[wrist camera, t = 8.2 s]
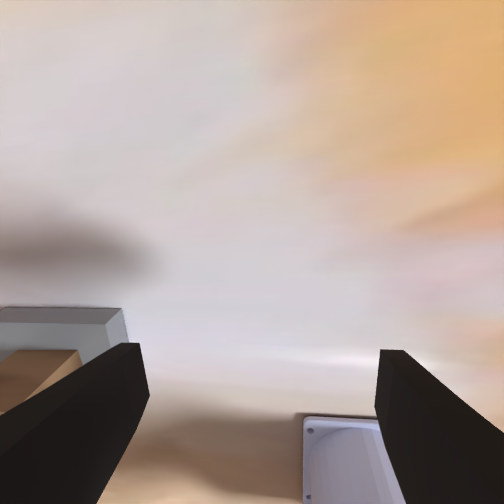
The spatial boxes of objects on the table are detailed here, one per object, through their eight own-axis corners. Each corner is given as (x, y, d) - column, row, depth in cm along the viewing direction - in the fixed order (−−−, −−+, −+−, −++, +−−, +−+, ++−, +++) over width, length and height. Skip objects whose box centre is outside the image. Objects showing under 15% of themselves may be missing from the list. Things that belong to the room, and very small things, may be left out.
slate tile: (143, 409, 23) (130, 432, 22) (39, 403, 24) (19, 424, 23) (121, 308, 21) (105, 324, 19) (5, 307, 22) (-21, 321, 20)
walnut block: (94, 403, 21) (39, 476, 16) (37, 401, 22) (-32, 471, 17) (77, 349, 20) (11, 412, 15) (17, 349, 20) (-65, 410, 15)
